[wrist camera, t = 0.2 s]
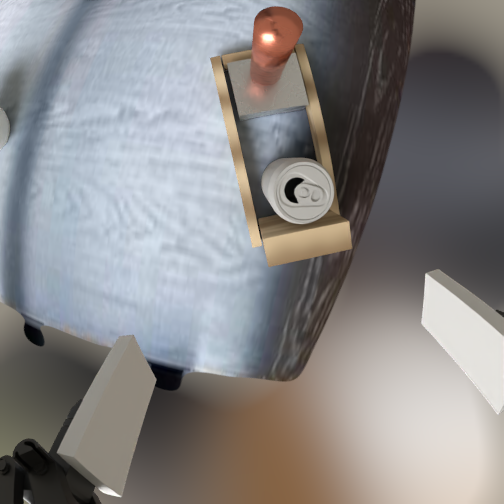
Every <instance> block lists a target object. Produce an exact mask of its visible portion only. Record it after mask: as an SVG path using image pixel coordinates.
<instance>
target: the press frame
mask: <svg viewBox="0 0 504 504" xmlns="http://www.w3.org/2000/svg"><path fill="white" fill-rule="evenodd" d="M251 53H252V50H247V51H242V52H236V53H231V54H226V55H222V60H223V65H224V69H225V70H228V66H227V63H230V62H235V61H240V60H246V59H251ZM292 53H296V56H297V60H298V63H299V67H300V71H301V75H302V78H303V82H304V86H305V90H306V94H307V98H308V103H309V105H308V106H307V107H306V111H307V116H308V120H309V125H310V129H311V134H312V139H313V144H314V149H315V154H316V159H317V162H318V163H320V164H321V165H322V166H323V167H324V168H325V169H326V170H327V171H328V173H329V174H330V176H331V179H332V182H333V186H334V198H333V202H332V205H331V207H330V208H329V210H328V211H327V213H326V214H325V215H324V216H322V217H321V218H319V219H318V220H316V221H313V222H310V223H306V224H295V223H291V222H288V221H286V220H284V219H283V218H281V217H280V216H279V215H273V216H268V217H263V218H258V222H259V227H260V231H261V236H262V241H263V245H264V249H265V253H266V257H267V262H268V266H269V267H271V266H275V265H280V264H285V263H289V262H294V261H299V260H303V259H308V258H312V257H317V256H321V255H326V254H330V253H335V252H339V251H344V250H348V249H352V245H351V235H350V226H349V221H348V220H346V219H345V218H343V217H341V216H340V213H339V206H338V199H337V193H336V186H335V180H334V174H333V168H332V163H331V157H330V152H329V146H328V141H327V136H326V132H325V127H324V122H323V118H322V113H321V109H320V104H319V100H318V96H317V92H316V88H315V84H314V80H313V76H312V73H311V69H310V65H309V62H308V58H307V55H306V51H305V48H304V45H303V44H296V45H295V47H294V49H293V51H292ZM210 59H211V63H212V68H213V72H214V76H215V81H216V85H217V90H218V94H219V99H220V103H221V108H222V112H223V117H224V121H225V125H226V130H227V134H228V139H229V143H230V148H231V152H232V157H233V161H234V166H235V170H236V175H237V179H238V184H239V188H240V192H241V197H242V201H243V206H244V210H245V215H246V219H247V224H248V228H249V233H250V237H251V242H252V246H253V248H254V247H258V246H262V243H261V238H260V234H259V229H258V224H257V219H256V215H255V210H254V206H253V201H252V196H251V192H250V187H249V182H248V178H247V173H246V169H245V164H244V160H243V155H242V151H241V146H240V142H239V137H238V133H237V128H236V124H235V119H234V115H233V110H232V106H231V102H230V97H229V93H228V89H227V84H226V80H225V76H224V71H223V67H222V63H221V58H220V56H217V57H212V58H210Z"/></svg>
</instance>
